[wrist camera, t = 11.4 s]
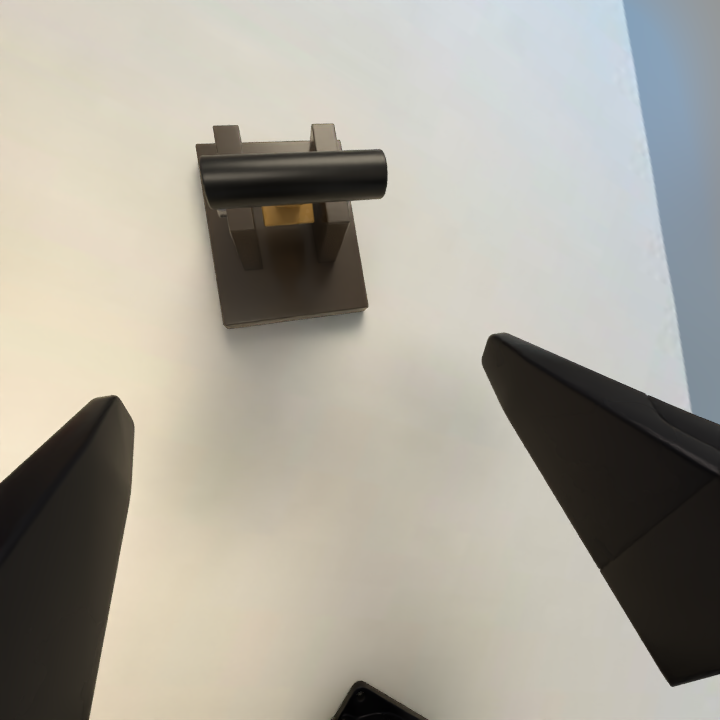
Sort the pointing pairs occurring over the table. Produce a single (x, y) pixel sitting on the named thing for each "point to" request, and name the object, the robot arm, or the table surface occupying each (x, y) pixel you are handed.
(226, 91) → the table surface
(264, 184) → the lever
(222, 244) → the bracket
